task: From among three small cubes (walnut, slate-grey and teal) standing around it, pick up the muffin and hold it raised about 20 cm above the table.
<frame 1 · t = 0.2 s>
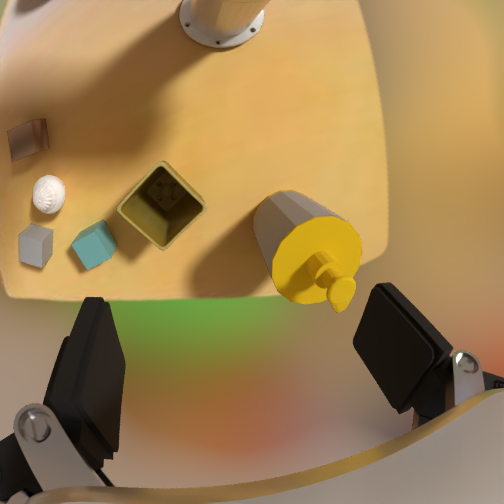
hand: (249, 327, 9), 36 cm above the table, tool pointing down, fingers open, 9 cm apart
soap bottle: (284, 221, 49), on the table
grey cube: (41, 239, 40), on the table
muffin: (57, 188, 37), on the table
flower pot: (166, 190, 42), on the table
walnut cube: (35, 137, 32), on the table
teal cube: (98, 237, 43), on the table
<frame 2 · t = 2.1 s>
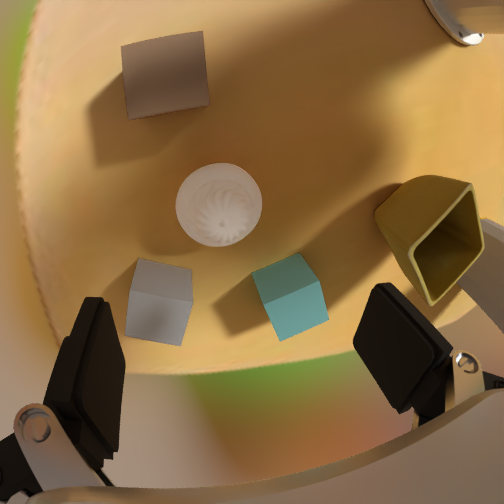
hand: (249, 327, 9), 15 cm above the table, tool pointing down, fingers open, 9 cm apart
soap bottle: (472, 250, 34), on the table
grey cube: (160, 285, 26), on the table
muffin: (215, 191, 23), on the table
flower pot: (395, 211, 27), on the table
walnut cube: (170, 82, 18), on the table
teal cube: (282, 281, 28), on the table
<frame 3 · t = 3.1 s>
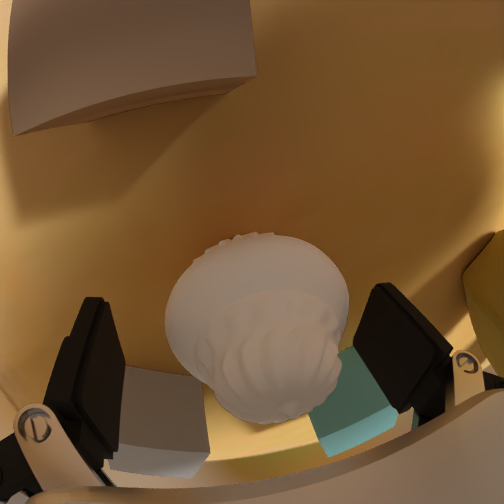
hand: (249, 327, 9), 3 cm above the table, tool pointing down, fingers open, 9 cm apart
grey cube: (153, 393, 15), on the table
muffin: (241, 266, 12), on the table
flower pot: (480, 267, 17), on the table
walnut cube: (148, 41, 7), on the table
teal cube: (333, 375, 18), on the table
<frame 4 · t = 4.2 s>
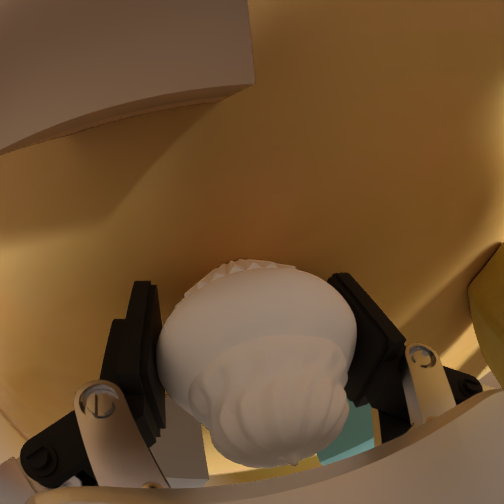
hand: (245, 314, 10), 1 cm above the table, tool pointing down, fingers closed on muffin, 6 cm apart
grey cube: (149, 414, 14), on the table
muffin: (239, 291, 11), on the table, touching gripper
flower pot: (485, 278, 16), on the table
walnut cube: (132, 43, 6), on the table
teal cube: (334, 393, 17), on the table
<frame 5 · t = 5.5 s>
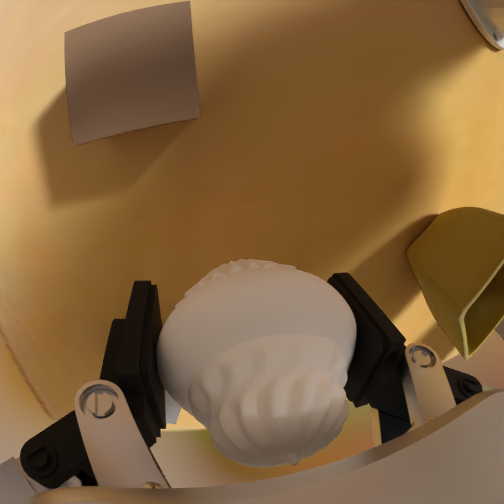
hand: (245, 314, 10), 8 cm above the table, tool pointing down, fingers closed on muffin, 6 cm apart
grey cube: (146, 349, 20), on the table
muffin: (239, 291, 11), point 6 cm above the table, touching gripper
flower pot: (427, 246, 22), on the table
walnut cube: (144, 84, 12), on the table
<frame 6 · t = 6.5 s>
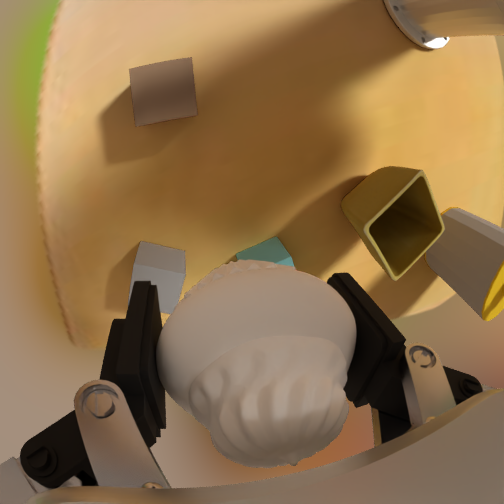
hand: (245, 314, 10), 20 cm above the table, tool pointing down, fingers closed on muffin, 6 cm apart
soap bottle: (445, 238, 39), on the table
grey cube: (158, 265, 30), on the table
muffin: (239, 291, 11), point 19 cm above the table, touching gripper
flower pot: (362, 200, 33), on the table
walnut cube: (167, 95, 23), on the table
teal cube: (262, 262, 33), on the table
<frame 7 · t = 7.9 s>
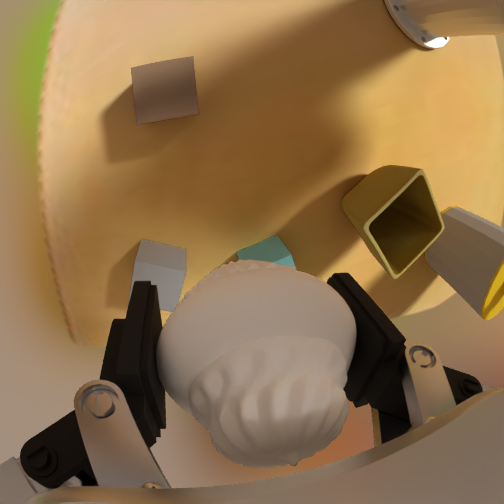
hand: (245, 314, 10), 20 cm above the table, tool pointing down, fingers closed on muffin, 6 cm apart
soap bottle: (445, 237, 39), on the table
grey cube: (159, 263, 31), on the table
muffin: (239, 291, 11), point 19 cm above the table, touching gripper
flower pot: (363, 199, 33), on the table
walnut cube: (168, 94, 23), on the table
teal cube: (263, 260, 33), on the table
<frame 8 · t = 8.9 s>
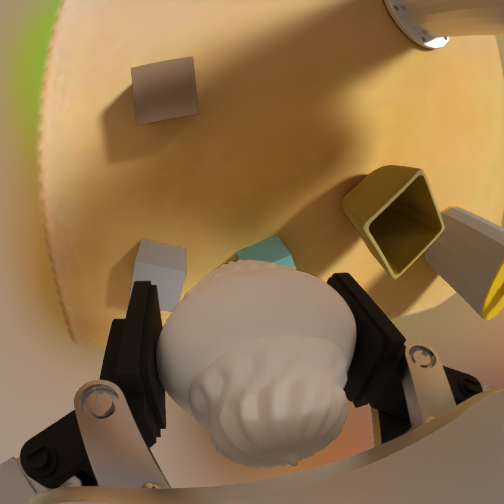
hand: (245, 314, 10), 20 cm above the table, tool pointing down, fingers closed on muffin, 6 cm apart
soap bottle: (445, 237, 39), on the table
grey cube: (159, 263, 31), on the table
muffin: (239, 291, 11), point 19 cm above the table, touching gripper
flower pot: (363, 199, 33), on the table
walnut cube: (168, 94, 23), on the table
teal cube: (263, 260, 33), on the table
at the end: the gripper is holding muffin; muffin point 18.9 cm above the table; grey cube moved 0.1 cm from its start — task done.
